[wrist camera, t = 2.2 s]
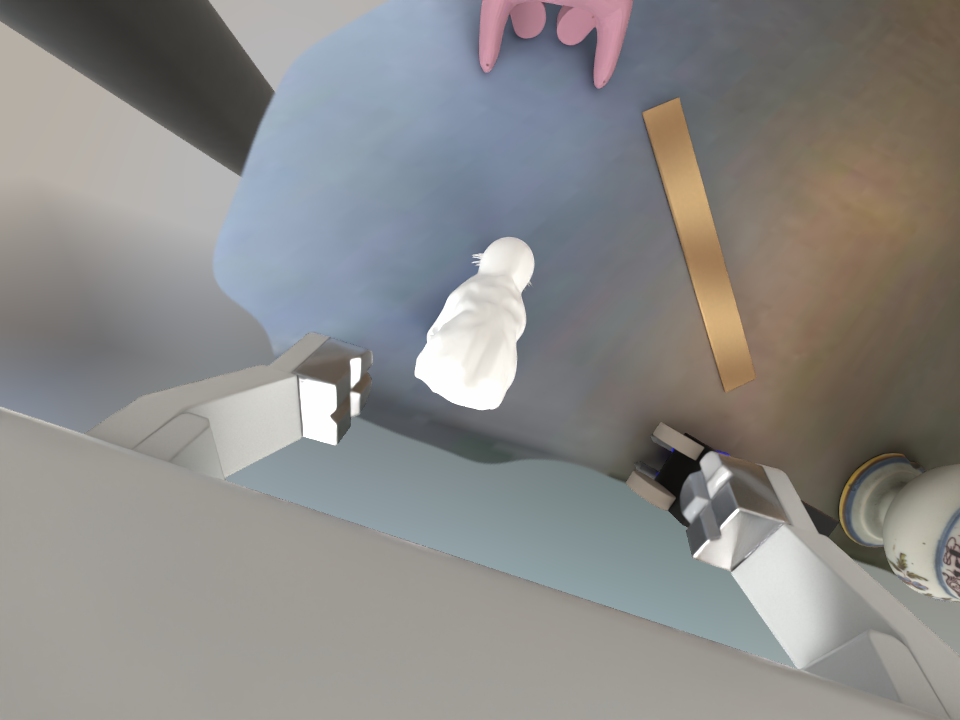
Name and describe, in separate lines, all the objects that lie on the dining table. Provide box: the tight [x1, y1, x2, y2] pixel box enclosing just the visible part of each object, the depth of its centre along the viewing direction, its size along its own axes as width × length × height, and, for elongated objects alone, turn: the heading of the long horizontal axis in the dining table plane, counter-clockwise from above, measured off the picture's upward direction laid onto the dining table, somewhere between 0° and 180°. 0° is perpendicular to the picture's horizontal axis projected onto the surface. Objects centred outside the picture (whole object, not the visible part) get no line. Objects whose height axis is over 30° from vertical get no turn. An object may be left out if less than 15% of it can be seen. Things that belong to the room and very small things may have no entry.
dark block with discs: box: [626, 422, 839, 537], centre depth 33 cm, size 7×8×15 cm
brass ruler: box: [642, 97, 756, 392], centre depth 33 cm, size 24×3×1 cm, turn 23°
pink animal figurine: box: [479, 0, 633, 88], centre depth 26 cm, size 10×5×7 cm, turn 87°
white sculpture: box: [415, 237, 534, 410], centre depth 27 cm, size 6×8×12 cm
